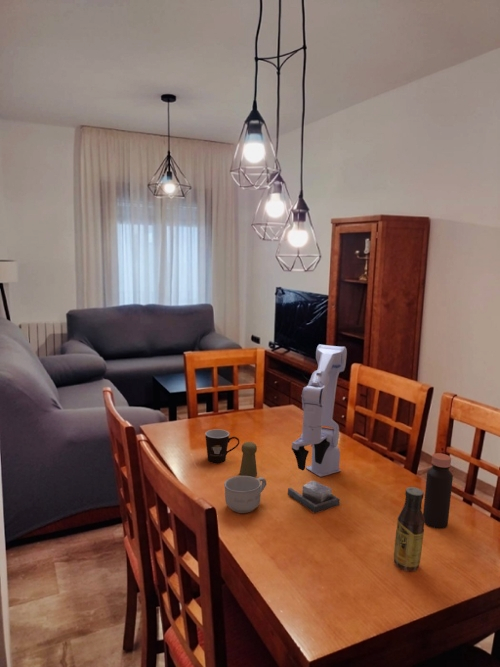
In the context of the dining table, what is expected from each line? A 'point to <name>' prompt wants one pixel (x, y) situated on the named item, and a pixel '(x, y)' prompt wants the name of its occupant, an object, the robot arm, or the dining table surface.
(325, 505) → the channel bracket
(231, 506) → the teacup
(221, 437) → the coffee mug
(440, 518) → the dark water bottle
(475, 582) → the dining table surface
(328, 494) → the block
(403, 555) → the sauce bottle
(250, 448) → the olive pawn piece
